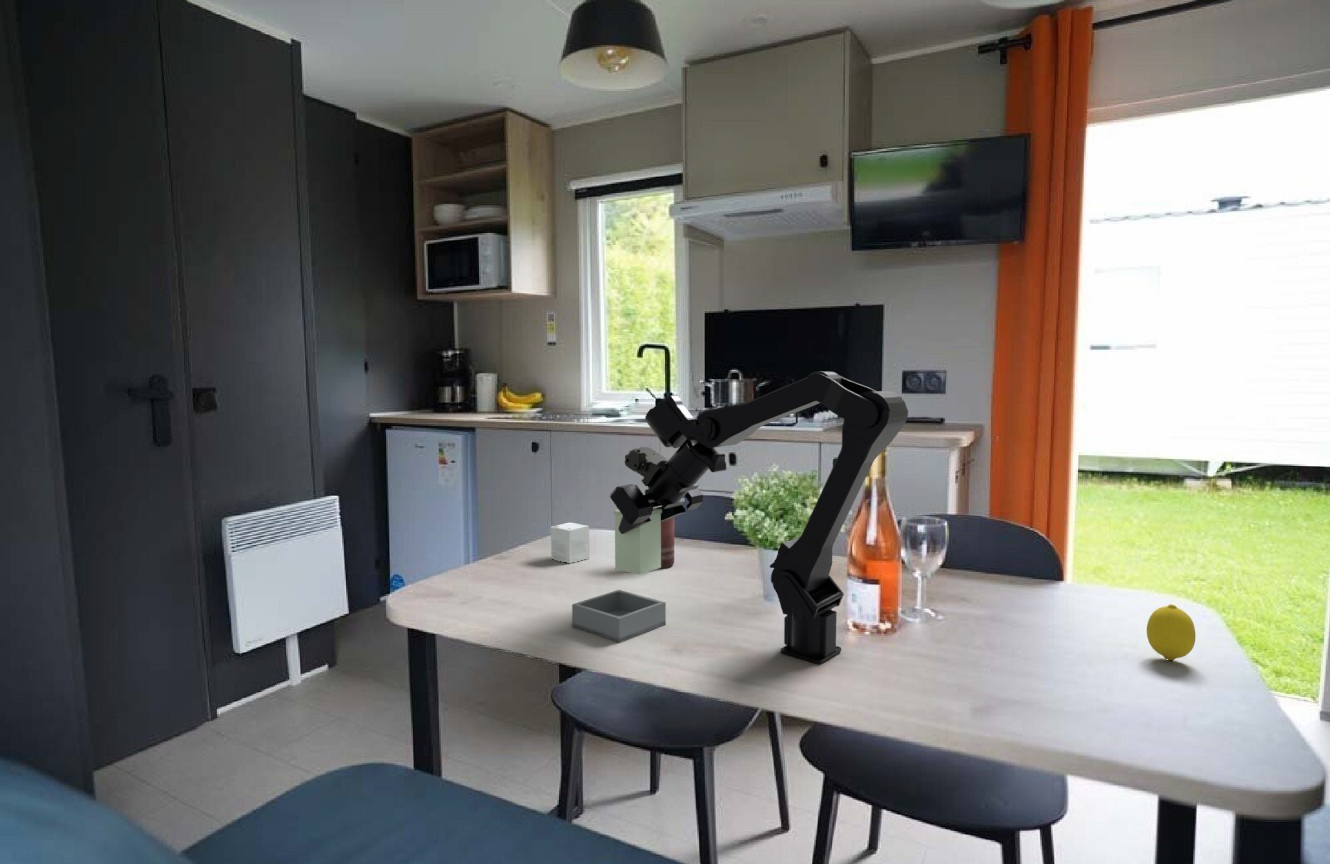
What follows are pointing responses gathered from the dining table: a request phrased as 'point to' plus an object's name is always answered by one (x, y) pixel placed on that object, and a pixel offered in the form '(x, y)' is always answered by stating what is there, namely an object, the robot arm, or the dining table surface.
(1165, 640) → the lemon
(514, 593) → the dining table surface
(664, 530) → the can
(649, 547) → the small green box
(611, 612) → the crate
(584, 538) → the skincare box
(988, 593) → the dining table surface
